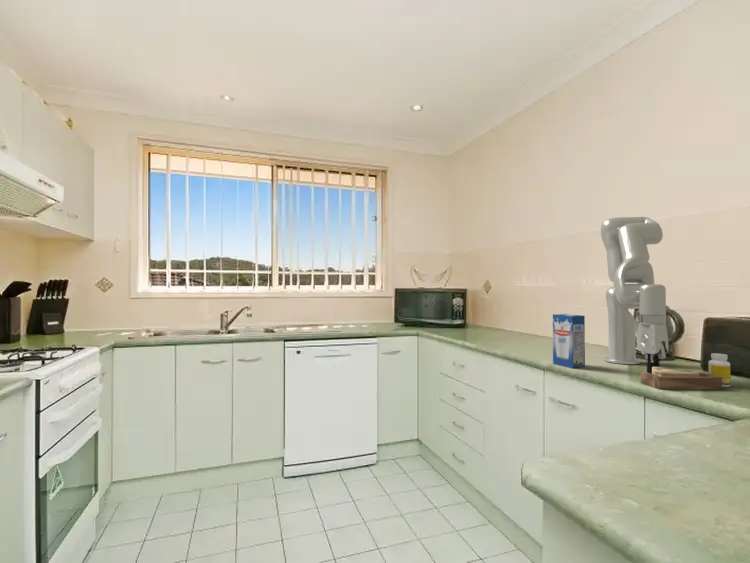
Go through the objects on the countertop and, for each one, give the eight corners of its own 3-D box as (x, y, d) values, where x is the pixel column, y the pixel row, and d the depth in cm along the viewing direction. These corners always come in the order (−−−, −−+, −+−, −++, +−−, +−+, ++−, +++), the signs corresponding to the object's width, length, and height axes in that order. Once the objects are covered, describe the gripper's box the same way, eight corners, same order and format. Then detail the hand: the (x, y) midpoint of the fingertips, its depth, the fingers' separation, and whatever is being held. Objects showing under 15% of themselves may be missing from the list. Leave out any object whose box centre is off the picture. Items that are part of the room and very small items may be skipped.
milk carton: (585, 367, 156) (584, 315, 156) (572, 368, 153) (572, 315, 154) (564, 362, 165) (564, 314, 165) (552, 363, 163) (552, 314, 163)
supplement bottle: (735, 387, 124) (734, 355, 124) (714, 386, 125) (714, 355, 125) (723, 383, 129) (723, 353, 129) (704, 382, 130) (704, 352, 130)
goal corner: (640, 382, 130) (640, 371, 130) (700, 382, 130) (700, 372, 130) (658, 389, 122) (658, 377, 122) (722, 389, 122) (722, 377, 122)
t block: (640, 378, 136) (640, 366, 136) (675, 378, 136) (675, 366, 136) (661, 385, 126) (661, 373, 126) (699, 386, 126) (699, 373, 126)
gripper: (628, 318, 146) (628, 369, 146) (656, 321, 131) (657, 378, 131) (648, 318, 146) (649, 369, 146) (679, 322, 131) (680, 378, 131)
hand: (653, 373), depth 138 cm, fingers closed
